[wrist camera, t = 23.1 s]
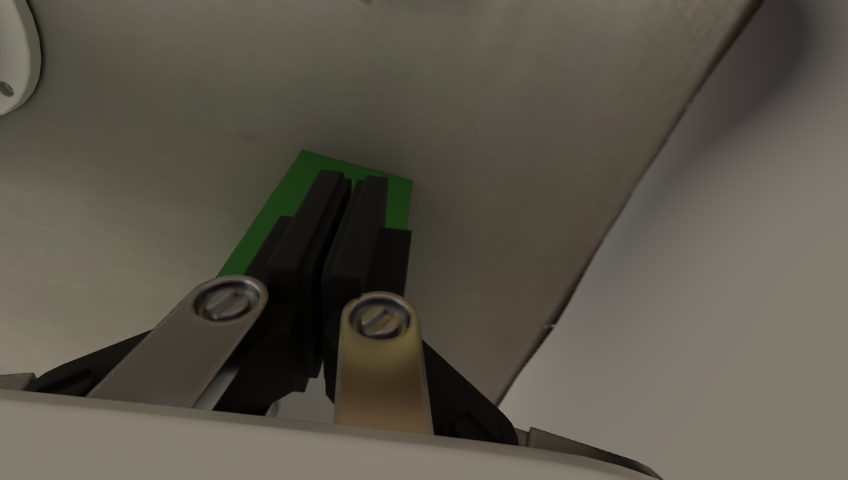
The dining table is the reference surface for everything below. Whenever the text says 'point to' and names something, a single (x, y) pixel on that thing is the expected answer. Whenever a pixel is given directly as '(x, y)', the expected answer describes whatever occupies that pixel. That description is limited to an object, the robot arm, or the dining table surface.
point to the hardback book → (286, 203)
